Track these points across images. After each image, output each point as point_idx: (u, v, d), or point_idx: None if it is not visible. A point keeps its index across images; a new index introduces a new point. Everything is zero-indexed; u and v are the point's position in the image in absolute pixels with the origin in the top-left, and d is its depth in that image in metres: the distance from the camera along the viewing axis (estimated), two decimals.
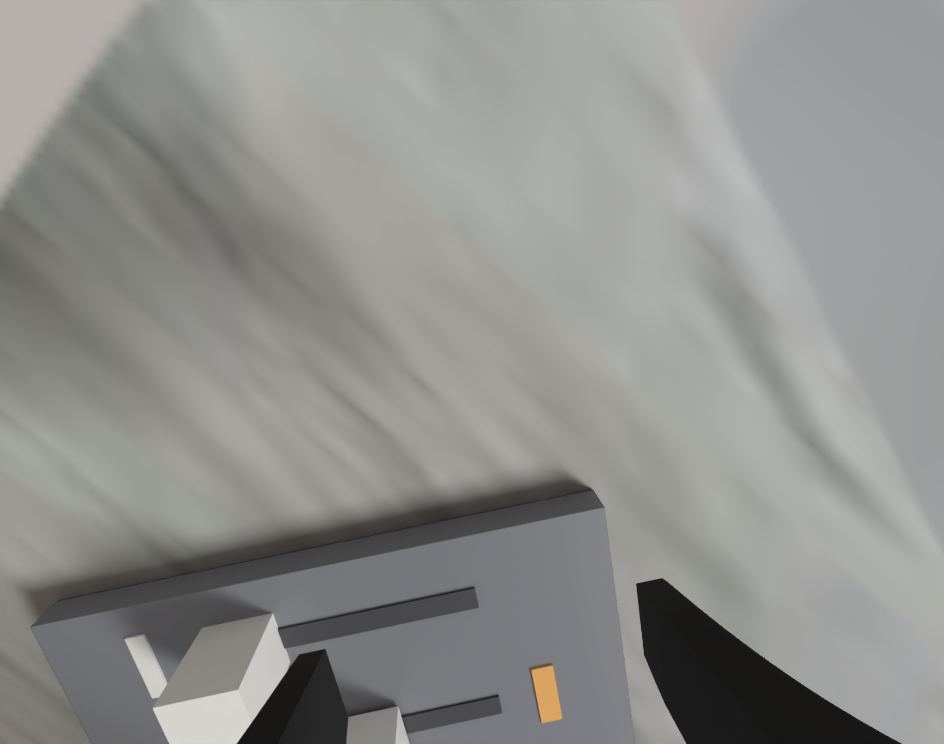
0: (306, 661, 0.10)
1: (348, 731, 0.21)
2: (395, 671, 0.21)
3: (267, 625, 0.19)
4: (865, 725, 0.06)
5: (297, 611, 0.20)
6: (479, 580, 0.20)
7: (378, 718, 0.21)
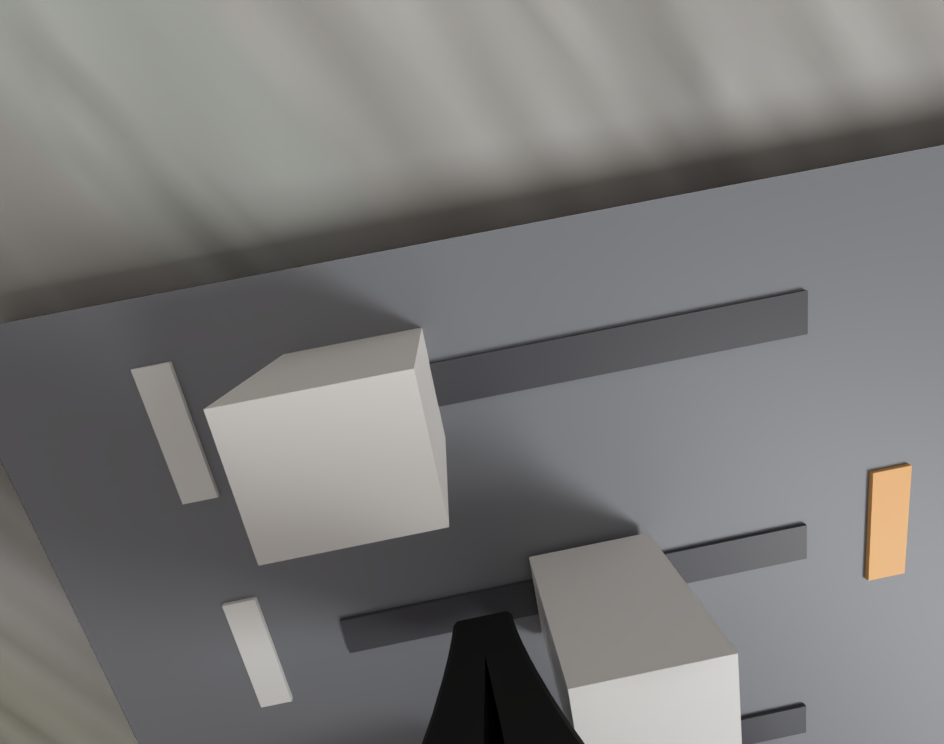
0: (471, 627, 0.10)
1: (570, 568, 0.11)
2: (633, 467, 0.11)
3: (420, 334, 0.10)
4: None
5: (469, 328, 0.10)
6: (816, 275, 0.11)
7: (620, 549, 0.11)
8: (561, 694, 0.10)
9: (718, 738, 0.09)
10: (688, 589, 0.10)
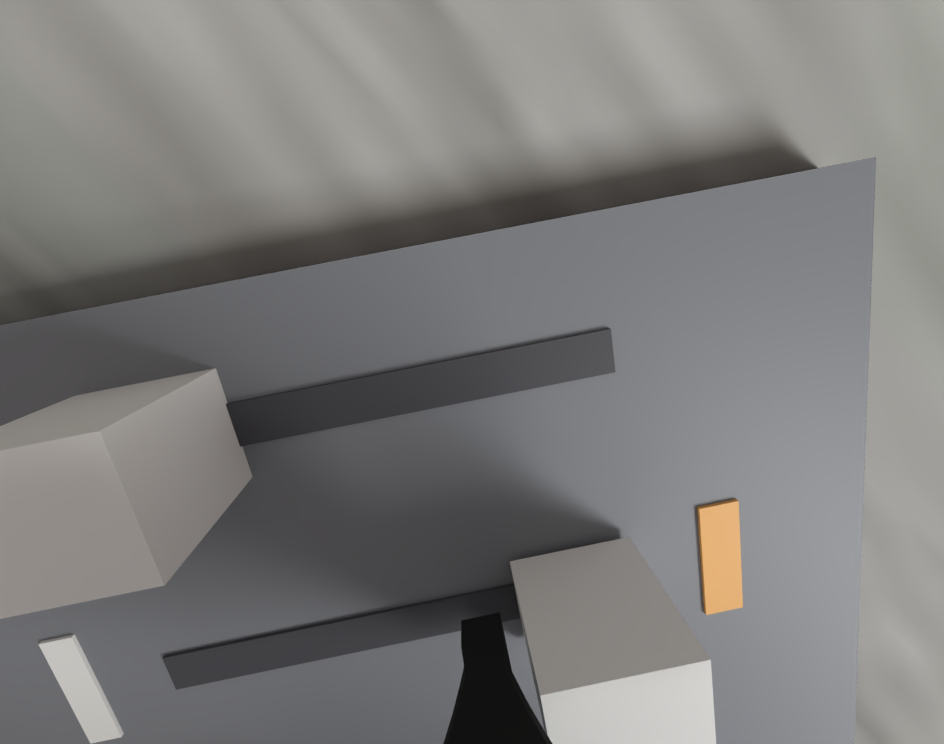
0: (488, 623, 0.10)
1: (549, 573, 0.11)
2: (450, 504, 0.11)
3: (201, 377, 0.09)
4: None
5: (264, 368, 0.10)
6: (620, 314, 0.10)
7: (600, 553, 0.11)
8: (538, 699, 0.10)
9: None
10: (665, 594, 0.10)
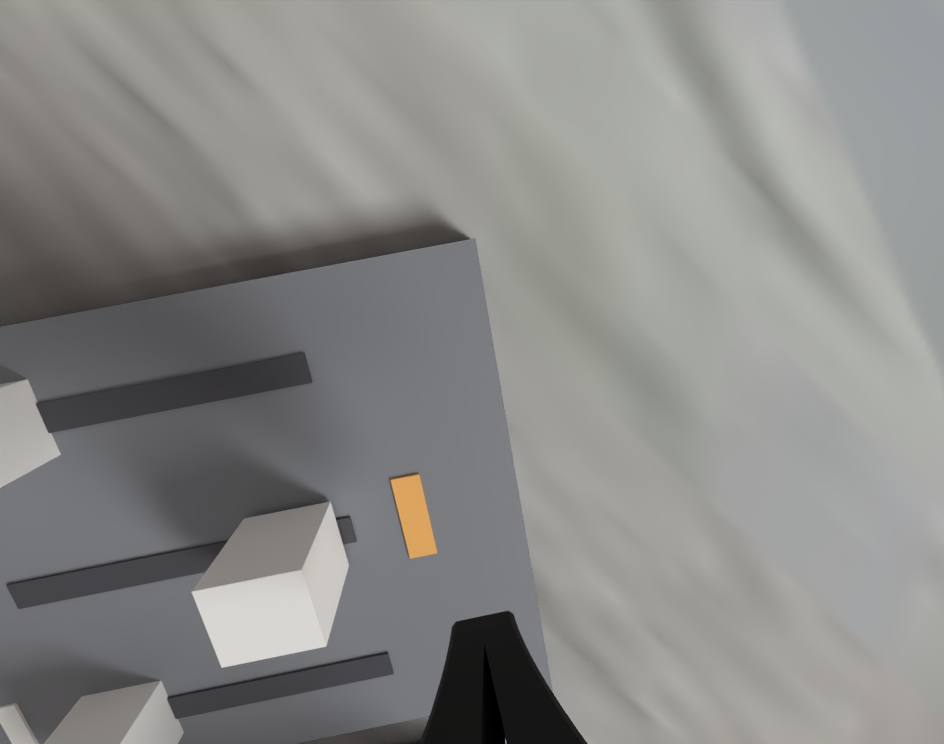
0: (469, 627, 0.10)
1: (261, 525, 0.16)
2: (207, 475, 0.16)
3: (9, 385, 0.14)
4: None
5: (62, 379, 0.15)
6: (310, 342, 0.15)
7: (302, 512, 0.16)
8: None
9: (304, 628, 0.13)
10: (317, 535, 0.14)
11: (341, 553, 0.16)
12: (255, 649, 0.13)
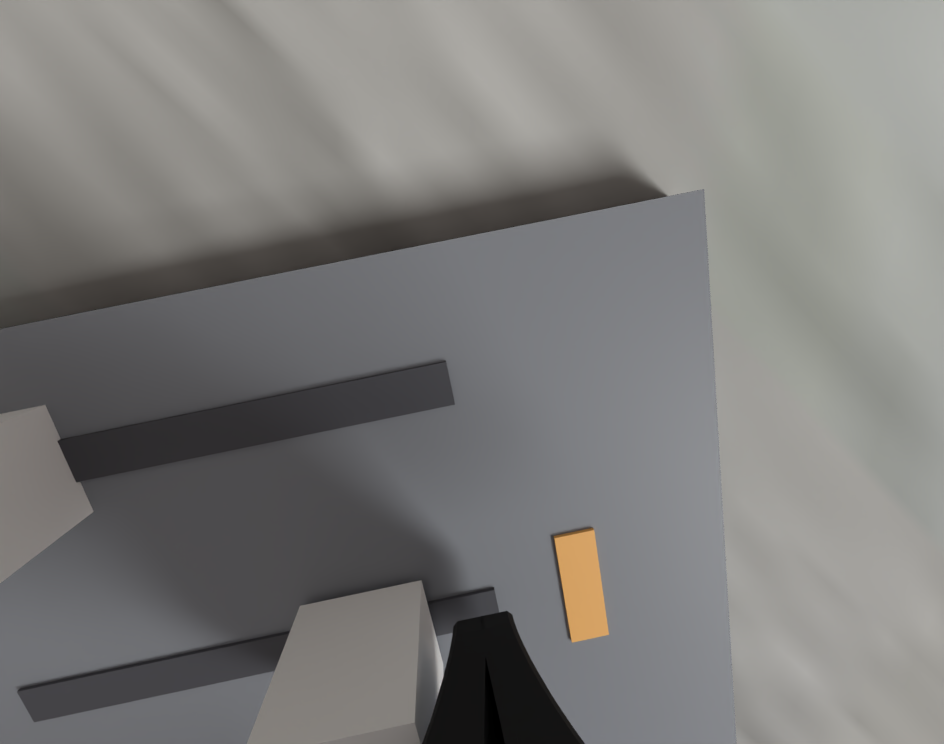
0: (471, 627, 0.10)
1: (328, 620, 0.11)
2: (300, 536, 0.11)
3: (19, 416, 0.09)
4: None
5: (96, 404, 0.10)
6: (455, 346, 0.10)
7: (384, 598, 0.11)
8: None
9: None
10: (419, 646, 0.10)
11: (437, 652, 0.12)
12: None
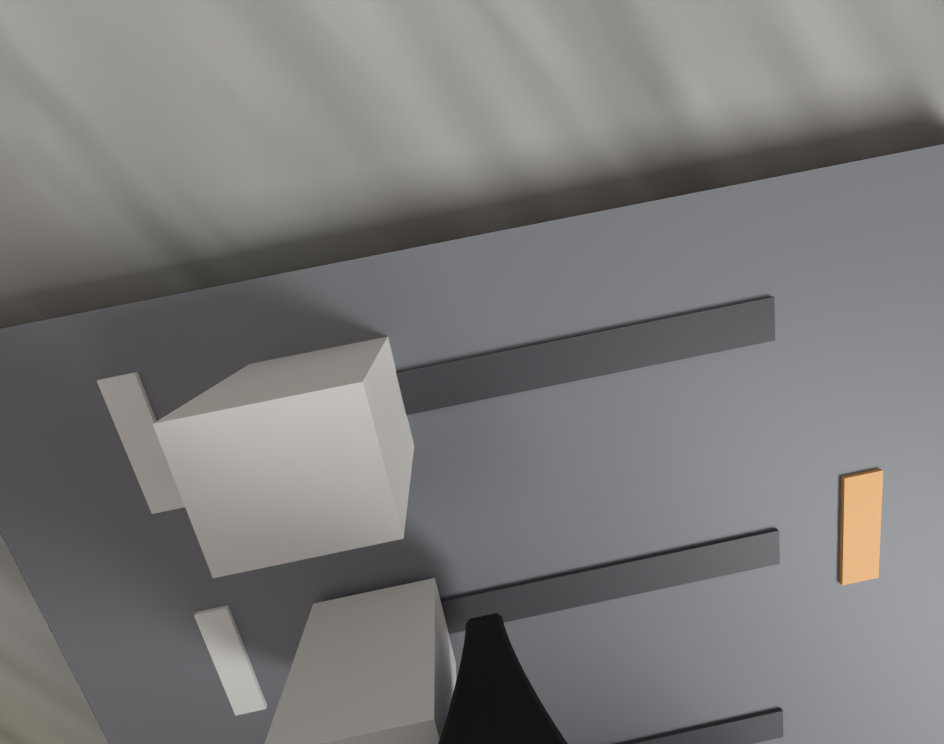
0: (484, 624, 0.10)
1: (342, 617, 0.11)
2: (603, 474, 0.11)
3: (384, 343, 0.10)
4: None
5: (435, 336, 0.10)
6: (782, 282, 0.11)
7: (398, 596, 0.11)
8: None
9: None
10: (434, 643, 0.10)
11: (450, 650, 0.12)
12: None
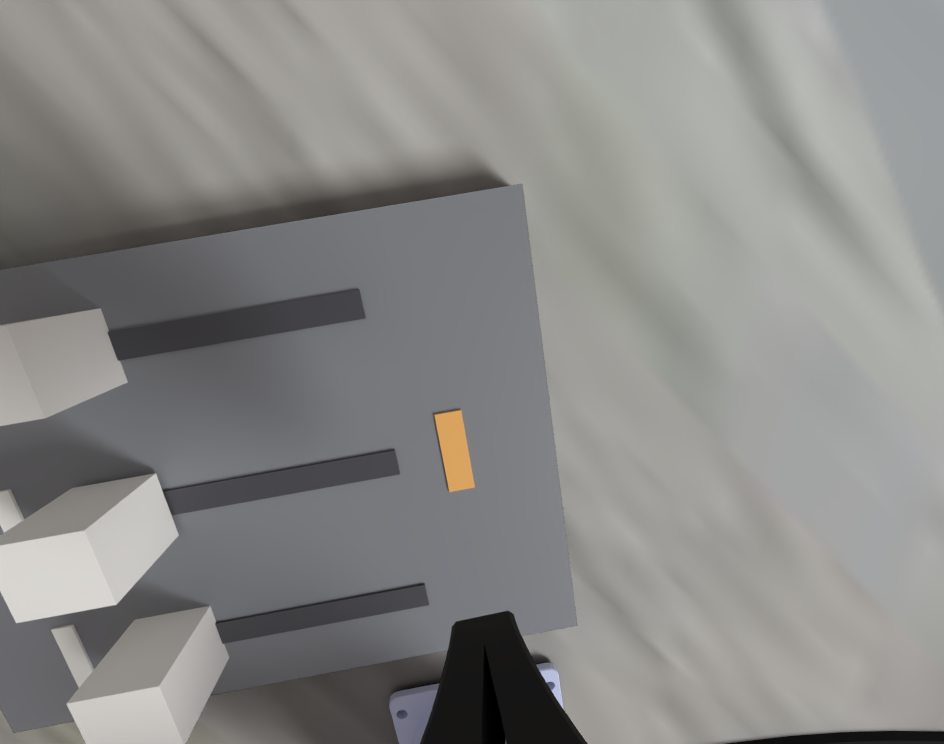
0: (469, 627, 0.10)
1: (82, 493, 0.16)
2: (263, 406, 0.17)
3: (86, 311, 0.15)
4: None
5: (132, 309, 0.16)
6: (365, 280, 0.16)
7: (125, 482, 0.17)
8: None
9: (92, 587, 0.14)
10: (122, 502, 0.15)
11: (166, 522, 0.17)
12: (47, 606, 0.14)
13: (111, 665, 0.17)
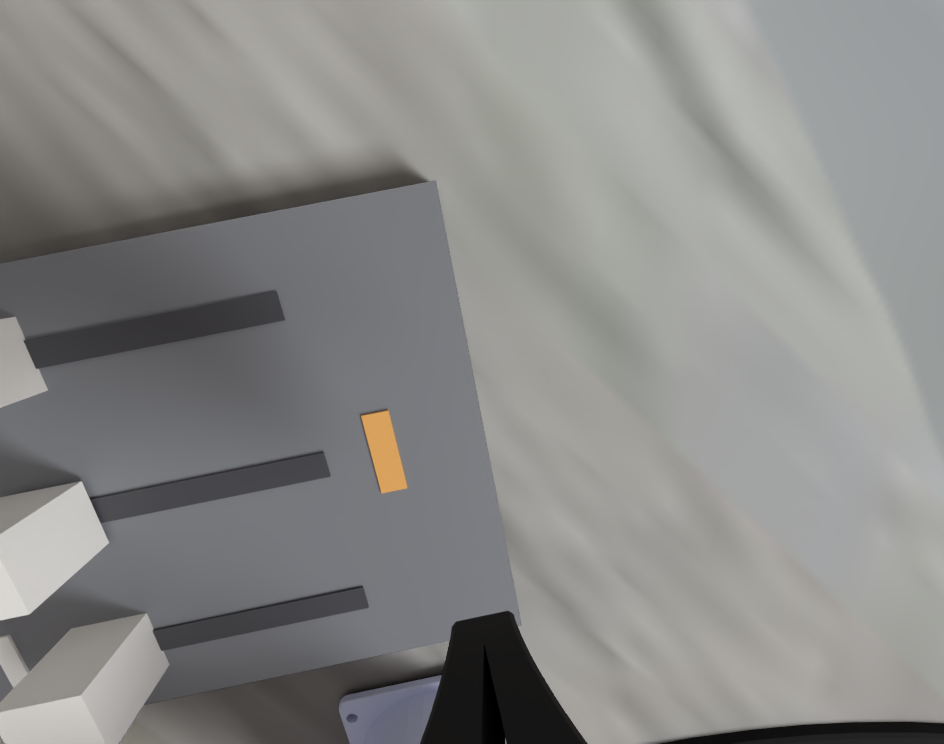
0: (469, 627, 0.10)
1: (4, 503, 0.16)
2: (187, 411, 0.17)
3: None
4: None
5: (48, 316, 0.16)
6: (282, 281, 0.16)
7: (49, 491, 0.17)
8: None
9: (3, 597, 0.14)
10: (39, 511, 0.15)
11: (93, 530, 0.17)
12: None
13: (39, 675, 0.17)
